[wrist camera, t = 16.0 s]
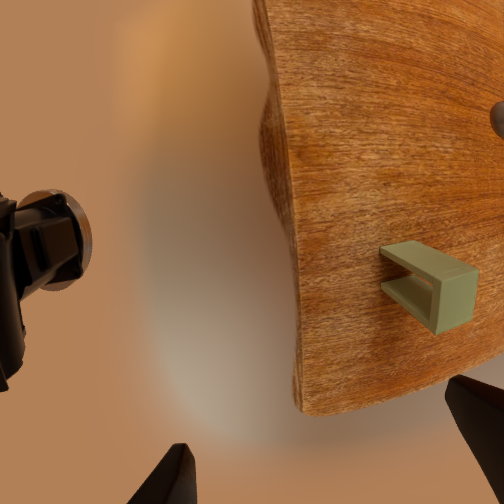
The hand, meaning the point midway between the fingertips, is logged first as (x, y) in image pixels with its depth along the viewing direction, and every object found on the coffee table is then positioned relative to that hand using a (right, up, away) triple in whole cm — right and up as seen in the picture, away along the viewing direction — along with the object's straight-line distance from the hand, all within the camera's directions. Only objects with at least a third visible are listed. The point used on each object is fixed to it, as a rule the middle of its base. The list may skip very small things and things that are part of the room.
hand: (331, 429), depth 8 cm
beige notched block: (+8, +5, +12) cm, 15 cm away
